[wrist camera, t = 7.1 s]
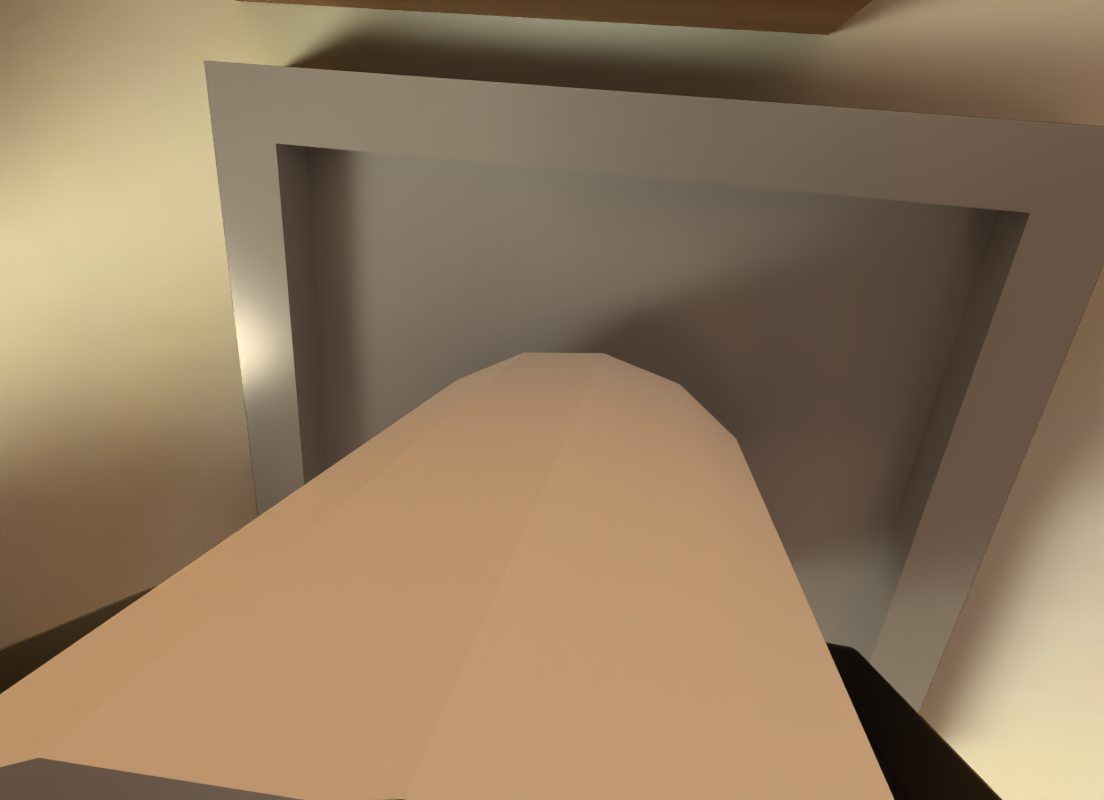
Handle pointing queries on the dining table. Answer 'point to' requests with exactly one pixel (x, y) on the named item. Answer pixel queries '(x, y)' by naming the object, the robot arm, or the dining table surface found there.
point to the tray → (677, 294)
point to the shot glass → (471, 625)
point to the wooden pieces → (641, 11)
